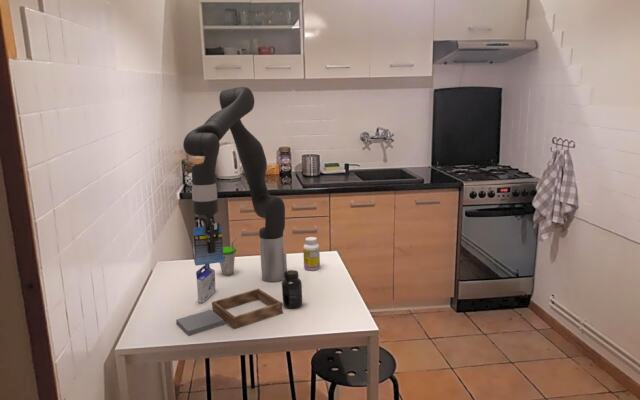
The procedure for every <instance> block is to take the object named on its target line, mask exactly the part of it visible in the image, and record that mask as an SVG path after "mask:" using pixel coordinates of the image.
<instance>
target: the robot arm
mask: <svg viewBox="0 0 640 400" xmlns="http://www.w3.org/2000/svg"><path fill="white" fill-rule="evenodd" d="M218 98H219V99H218V100H219V106H220V108H221V109H220V110H218V111H217V112H214V114H212V115H210V117H209V118H208V119H207V120H206V121H205V122H204V124H202V125H200V126H197V127H196V128H194V129H193V130H190V131H189V132H188V133H187V134H186V136H185V137H184V140H183V142H182V143H183V144H182V147H183V150H184V152H185V153H186V154H187V155H189V156H191V157H204V159H203V161H202V162H201V163H197V164H194V165H192V166H191V169H190V170H191V183H192V184H191V185H192V186H191V196H192V198H191V200H192V210H193V211H192V213H193V214H194V215H195V216H194V217H193V219H194V225H195V227H204V230H203V232H204V234H205V235H206V237H207V241H208V242H207V244H208V253H210V254H211V253H215V241H216V240H218V239H219V225H220V222H216V220H215V217H214V215H215V214H217V213H218V212H219V204H218V203H219V202H218V201H219V200H218V189H217V183H216V182H217V181H216V166H217V161H218V155H219V152H220V146H221V145H220V141H221V140H222V139H223V137H224V136H225V135H226V134H227V132H228V131H229V130H230V133H231V135H232V139H233V142H234V144H235V148H236V150H237V154H238V158H239V160H240V163H241V168H242V170H243V172H244V175H245V178H246V182H247V185H248V189H249V191H250V193H249V194H250V197H251V203H252V206H253V211H254V213H255V214H256V215H257V216H258V217H259V218H262V219H265V222H264V225H265V226H264V227H261V228H260V229H259V232H258V234H259V250H260V253H259V255H260V268H261V269H260V270H261V271H260V272H261V279H262V281H264V282H269V283H270V282H271V283H274V282H280V281H283V280H284V279H285V278H284V272H286V271H288V264H287V262H288V261H287V253H285V243H284V231H285V229H286V207H285V203H284V200H283V199H282V198H280V197H279V196H276V195H271V194H270V192H269V190H268V187H267V183H266V173H267V167H268V166H267V165H268V162H267V157H266V154H265V151H264V147H263V145H262V143H261V142H260V141H259V140H258V138H257V137H255V136H254V135H253V134H252V133H251V132H250V131H249V130H248V129H247V128H246V127H245V125H244V124H243V122H242V120H241V119H242V118H244V117H245V116H246V115H248V114H249V113H251V112H252V110H253V109H254V108H255V97H254V92H252V90H251V89H250V88H249V87H247V86H239V87H234V88H229V89H228V88H227V89H224V90H221V92H220V93H219V97H218ZM209 231H210V232H209ZM209 234H210V237H209ZM215 234H216V236H215Z"/></svg>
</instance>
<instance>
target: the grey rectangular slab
mask: <svg viewBox="0 0 640 400" xmlns="http://www.w3.org/2000/svg"><path fill="white" fill-rule="evenodd" d="M175 322H176V325H177V326H178V327H179V328H180V329H181V330H182V331H183V332H184V333H185V334H186V335H187V336H191V335H195V334H199V333H201V332H204V331H207V330H210V329H214V328H217V327H220V326H224V325H225V321H224V320H223V319H222V318H221V317H220V316H218V315H217V314H216V313H215V312H213V311H212V308H211V309H208V310H203V311H201V312H198V313H193V314H190V315H187V316H184V317H180V318H177V319H176V320H175Z"/></svg>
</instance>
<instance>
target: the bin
mask: <svg viewBox="0 0 640 400" xmlns="http://www.w3.org/2000/svg"><path fill="white" fill-rule="evenodd" d="M257 300H259V302H261V303H263V304H264V305H266V306H265V307H261V308H258V309H254V310H251V311H248V312H244V313H242V314H238V315H236V316H235V315H233V314H232V313H231V312H230V311H229V310H228V309H230V308H234V307H237V306H241V305H243V304H247V303H250V302H253V301H257ZM211 310H212V311H213V312H215V313H216V314H217V315H218V316H220V317H221V318H222V319H223V320H224V323H226V324H227V325H229V326H230V327H231V328H233V329H234V330H236V329H238V328H241V327H245V326H248V325H249V324H253V323H256V322H259V321H262V320H265V319H268V318H271V317H274V316H277V315H281V314H283V312H284V309H283V302H281V301H280V300H278V299H276V298H275V297H273V296H272V295H270V294H268V293H266V292H264V290H261V289H260V288H254V289H252V290H247V291H245V292H242V293H239V294H235V295H231V296H228V297H224V298H221V299H217V300H214V301H211Z"/></svg>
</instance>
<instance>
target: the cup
mask: <svg viewBox="0 0 640 400" xmlns="http://www.w3.org/2000/svg"><path fill="white" fill-rule="evenodd" d="M236 240H237V238H234V239H233V240H232V241H231V246H223V255H224V262H221V263H219V265H220V270H221V275H222V276H225V277H226V276H227V277H228V276H232V275H234V270H235V259H236V258H235V257H236V252H237V249H236V247H234V242H235V241H236Z"/></svg>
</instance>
